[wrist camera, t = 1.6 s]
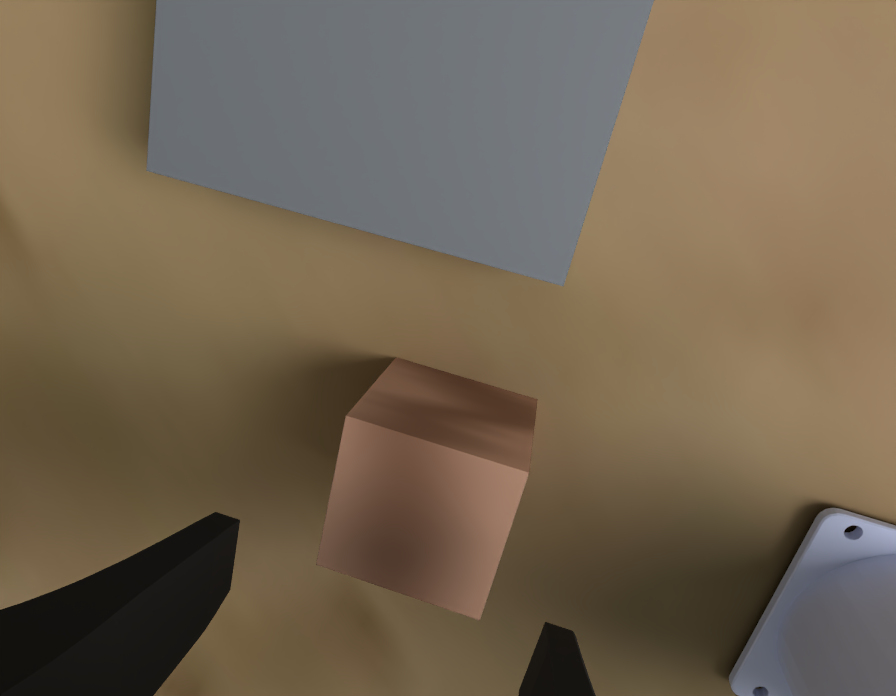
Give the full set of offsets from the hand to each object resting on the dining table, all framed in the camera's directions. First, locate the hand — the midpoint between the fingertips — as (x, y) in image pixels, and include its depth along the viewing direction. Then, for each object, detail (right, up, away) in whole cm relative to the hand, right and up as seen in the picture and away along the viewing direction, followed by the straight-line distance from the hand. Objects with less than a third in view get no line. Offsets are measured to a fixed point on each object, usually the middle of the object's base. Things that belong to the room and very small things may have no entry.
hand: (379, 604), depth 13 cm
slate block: (+1, +15, +4) cm, 16 cm away
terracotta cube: (+2, +2, +8) cm, 8 cm away
